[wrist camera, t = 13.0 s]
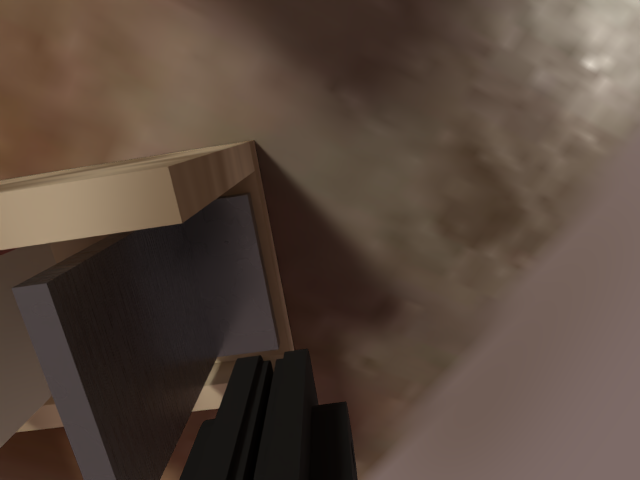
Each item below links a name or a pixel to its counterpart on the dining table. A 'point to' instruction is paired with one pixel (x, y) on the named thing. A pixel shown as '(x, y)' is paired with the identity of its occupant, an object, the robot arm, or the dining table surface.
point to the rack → (140, 223)
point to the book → (19, 342)
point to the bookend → (147, 332)
